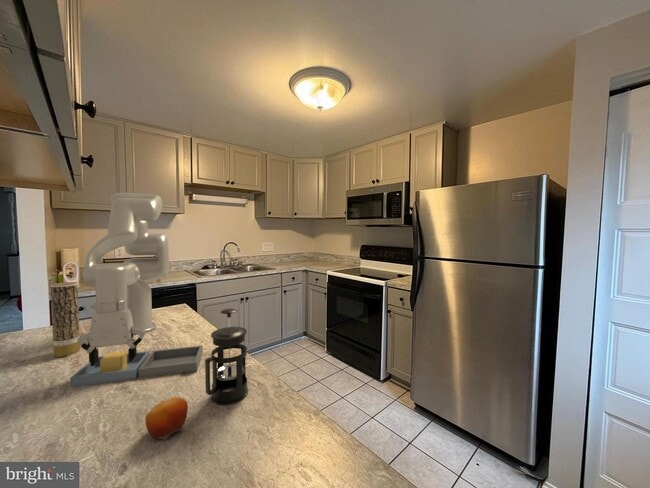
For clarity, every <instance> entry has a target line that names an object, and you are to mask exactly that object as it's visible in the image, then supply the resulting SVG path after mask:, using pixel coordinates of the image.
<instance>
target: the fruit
mask: <svg viewBox="0 0 650 488" xmlns="http://www.w3.org/2000/svg"><path fill="white" fill-rule="evenodd" d="M151 408H152V409H150V411H149V412H148V413H147V414H146V416H145V427H146V430H147V432H148V434H149V435H150V436H151V437H152V438H154V439H156V440H164V441H167V439H168V438H169V437H170V436H171V435H173V433H176V432H178V431H184V432H186V430H185V429H184V425H185V423H186V421H187V415H188V409H189V404H188V402H187V400H186V399H185V398H183V397H182V396H181V397H180V396H173V397H171V398H169V399H165V400H161V401H160V402H159V403H157V404H155V405H154V406H152V407H151Z"/></svg>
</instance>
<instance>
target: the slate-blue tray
mask: <svg viewBox="0 0 650 488" xmlns="http://www.w3.org/2000/svg"><path fill="white" fill-rule="evenodd" d="M150 354H151V351H150V350H149V351H138V352H137V355H136V357H135V358H134V359H133V360H132V361H131V362H129V357H128V352H127V367H126V368H125V369H124V370H119V371H111V372H103V373H101V372H100V360H101V359H102V358H103V357H104V356H105V355H99V361H98V362H97V363H96V364H95V365H94V366H91V362H89V361H88V362H87V363H86V364H85V365H84V366H82V367H81V368H80V369H79V370H77V372H75V373H74V374H72V376H70V379H69V380H70V387H71V388H74V387H75V388H76V387H80V386H89V385H97V384H104V383H113V382H119V381H120V382H121V381H129V380H135V379H137V378H138V377H139V368H140V367H141V366H142V364H143V363H144V362H145V360H146V359H147V358H148V356H149V355H150Z"/></svg>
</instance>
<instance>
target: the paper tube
mask: <svg viewBox="0 0 650 488" xmlns="http://www.w3.org/2000/svg"><path fill="white" fill-rule="evenodd" d="M78 286H79V285H78V282H77V281H65V282H57V283H52V284H50V297H51V298H50V299H51V317H52V319H51V320H52V346H53V355H54V356H55V357H56V358H62V357H63V358H64V357H68V356H70V355H74V354H76V353H78V352H80V350H81V345H80V343H79V342H78V340H77V339H78V338H80V337H81V336H80V310H79V288H78Z"/></svg>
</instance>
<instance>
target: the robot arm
mask: <svg viewBox="0 0 650 488" xmlns="http://www.w3.org/2000/svg"><path fill="white" fill-rule="evenodd" d="M110 203H111V207H110V214H109V221H108V228H107V234H106V235H105V236H103V237H102V238H100V239H99V240H97V242H96V243H94V245H92V247H91V248H90V249H89V251H88V253H87V254H86V257H85V261H84V262H85V263H84V266H83V267H84V268H83V274H82V275H83V276H82V277H83V282H84V284H85V285H86V286H88V287H91V288H95V303H91V304H90V309H95V312H93V313H92V315H91V319H90V326H89V332H88V333H86V334H84V335H81V336H80V338H78V339H77V340H78V342H79V343H80V348H82V349H84V351H86V353H87V354H88V362H91V366H94V365H95V364H96V363H97V362H98V361H99V356H100V355H99V348H101V347H112V346H114V347H115V346H121V345H127V346H128V347H129V348H128V351H127V353H128V357H129V362H131V361H132V360H133V359H134V358H135V357H136V355H137V346H138V345H139V344H140V343H141V342H142V341H143V339H144V338H145V335H146V333H148V332H150V331H153V330H154V329H157V324H156V323H155V322H153V312H152V311H153V306H152V304H153V303H152V289H151V286H150V285H149V283H147V282H146V280H160V279H165V278H167V277H168V275H169V274H170V256H169V255H170V253H169V242H168V238H167V236H166V235H165V234H162V233H157V232H155V233H152V232H151V233H149V229H148V222H156V221H157V220H158V219H159V217H160V215H161V213H162V211H163V199H162V198H161V196H160V195H158V194H154V193H153V194H152V193H139V192H138V193H136V192H117V193H113V194H112V195H111V197H110ZM122 247H124V250H125V252H126V254H127V255H130V256H155V257H134V258H128V259H125V260H124V261H123V262H109V263H107V262H106V263H105V262H103V263H100V261H101V259H102V258H103V257H104V256H105V255H106V254H108V253H110V252H111V251H114V250H117V249H119V248H122ZM135 335H138V337H137V339H135V338H134V336H135ZM87 339H88V340H87ZM88 341H89V342H88Z"/></svg>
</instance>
